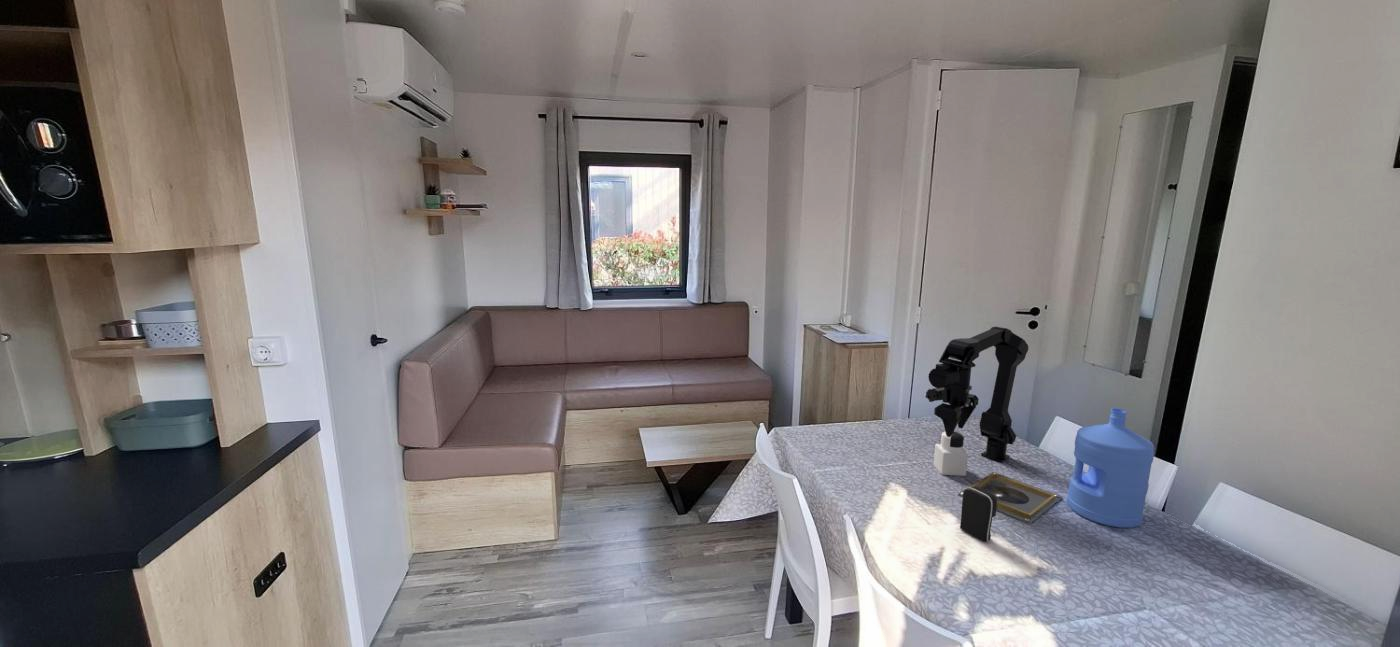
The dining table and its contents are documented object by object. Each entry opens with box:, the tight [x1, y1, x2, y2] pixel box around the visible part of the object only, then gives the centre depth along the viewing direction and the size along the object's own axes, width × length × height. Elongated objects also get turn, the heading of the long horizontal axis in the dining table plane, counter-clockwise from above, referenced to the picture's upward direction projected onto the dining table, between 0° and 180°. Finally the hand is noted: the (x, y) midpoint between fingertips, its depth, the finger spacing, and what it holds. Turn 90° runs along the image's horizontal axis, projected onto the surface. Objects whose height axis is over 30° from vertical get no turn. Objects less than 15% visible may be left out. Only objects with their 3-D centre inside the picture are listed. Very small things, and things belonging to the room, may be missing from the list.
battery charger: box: [959, 486, 997, 543], centre depth 121 cm, size 7×4×11 cm, turn 28°
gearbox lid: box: [957, 472, 1063, 525], centre depth 140 cm, size 22×18×1 cm
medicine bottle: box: [933, 431, 969, 477], centre depth 154 cm, size 7×7×12 cm
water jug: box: [1066, 408, 1155, 529], centre depth 130 cm, size 16×16×28 cm
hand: (954, 432), depth 152 cm, fingers open, 9 cm apart
